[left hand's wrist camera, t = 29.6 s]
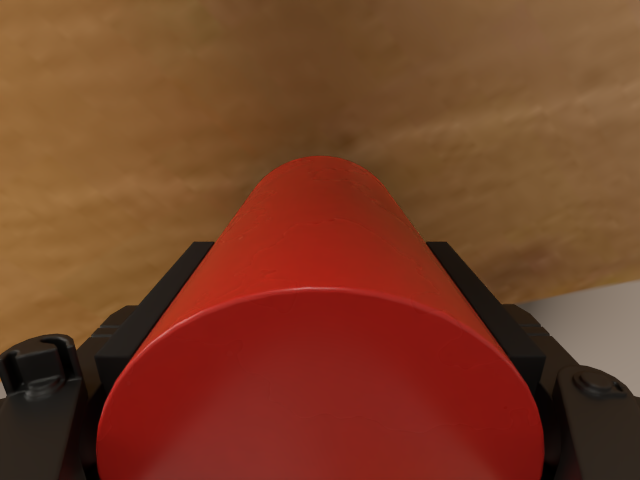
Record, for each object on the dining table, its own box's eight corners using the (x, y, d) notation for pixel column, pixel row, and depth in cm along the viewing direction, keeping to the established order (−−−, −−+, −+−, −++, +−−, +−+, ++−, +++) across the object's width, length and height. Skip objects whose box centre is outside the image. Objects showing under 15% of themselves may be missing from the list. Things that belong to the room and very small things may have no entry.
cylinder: (266, 130, 17) (135, 212, 5) (425, 188, 18) (645, 376, 6) (223, 278, 19) (68, 568, 7) (364, 322, 20) (426, 642, 8)
